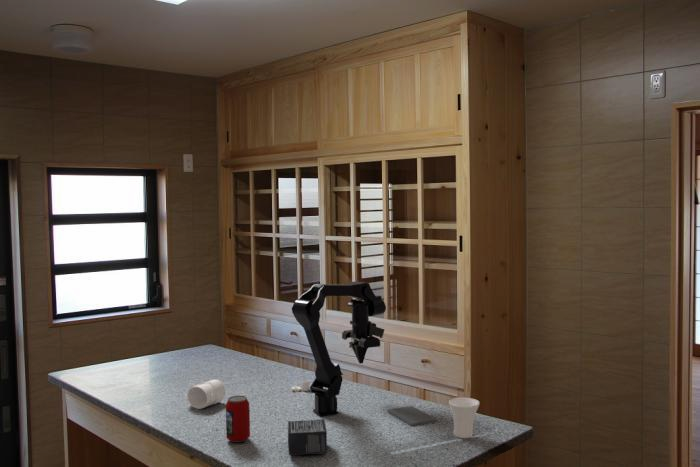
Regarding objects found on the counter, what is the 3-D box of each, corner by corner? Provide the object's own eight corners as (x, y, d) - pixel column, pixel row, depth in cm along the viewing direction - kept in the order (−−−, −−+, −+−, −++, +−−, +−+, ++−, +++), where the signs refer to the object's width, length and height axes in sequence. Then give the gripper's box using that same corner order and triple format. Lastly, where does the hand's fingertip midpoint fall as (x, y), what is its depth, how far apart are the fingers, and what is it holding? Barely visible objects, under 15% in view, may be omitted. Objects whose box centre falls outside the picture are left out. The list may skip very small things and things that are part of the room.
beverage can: (227, 435, 190) (226, 395, 189) (250, 434, 190) (249, 394, 190) (225, 443, 183) (224, 402, 183) (249, 442, 184) (248, 401, 183)
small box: (324, 441, 184) (288, 442, 183) (324, 418, 184) (287, 419, 183) (326, 454, 174) (287, 456, 173) (326, 430, 174) (287, 432, 173)
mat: (411, 426, 195) (411, 423, 195) (387, 412, 209) (387, 409, 209) (436, 421, 199) (436, 419, 199) (411, 408, 213) (411, 405, 213)
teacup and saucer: (288, 393, 233) (288, 382, 233) (298, 387, 241) (298, 376, 241) (310, 395, 230) (310, 384, 230) (320, 389, 237) (319, 378, 237)
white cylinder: (227, 404, 221) (226, 381, 221) (207, 411, 213) (207, 387, 213) (202, 399, 227) (201, 376, 227) (182, 406, 220) (181, 382, 219)
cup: (460, 442, 181) (460, 407, 181) (443, 432, 190) (442, 398, 189) (486, 437, 185) (486, 403, 184) (468, 427, 193) (468, 394, 193)
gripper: (393, 320, 216) (394, 366, 217) (369, 312, 233) (369, 355, 234) (364, 323, 211) (364, 370, 212) (341, 315, 228) (341, 358, 229)
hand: (361, 363), depth 222 cm, fingers closed
